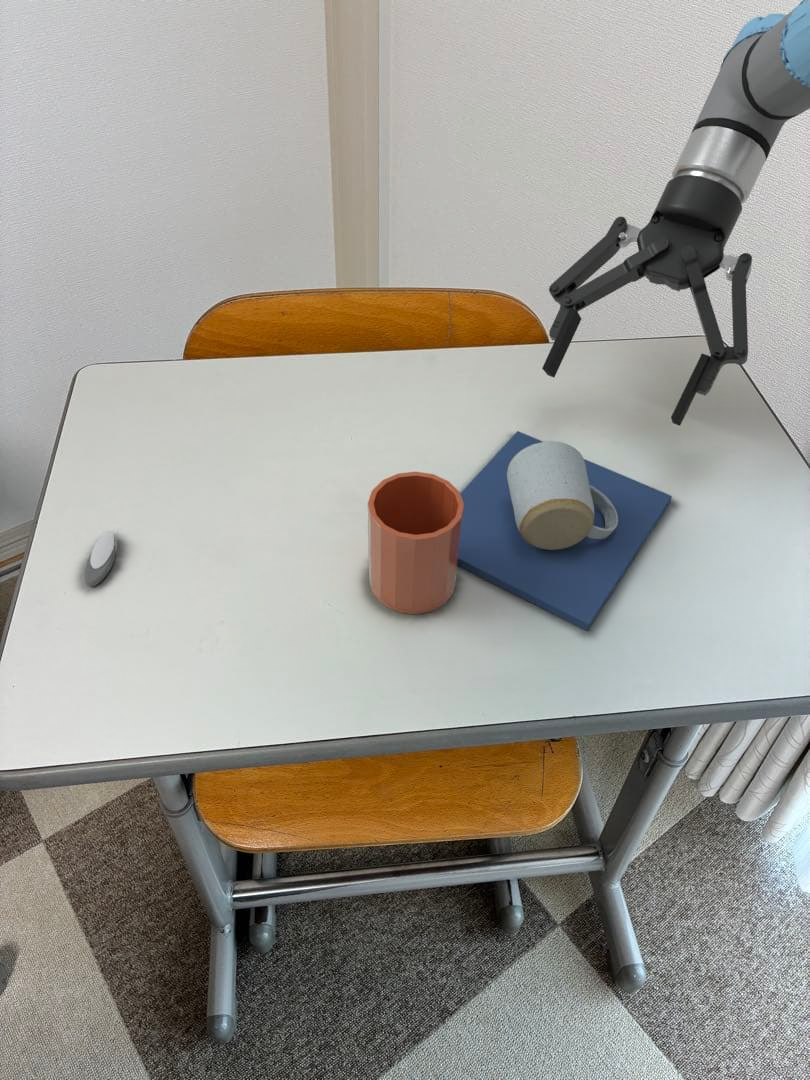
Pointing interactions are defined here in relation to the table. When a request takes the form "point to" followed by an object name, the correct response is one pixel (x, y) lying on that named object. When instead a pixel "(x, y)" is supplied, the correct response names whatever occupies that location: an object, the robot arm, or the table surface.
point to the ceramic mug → (556, 497)
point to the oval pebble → (101, 559)
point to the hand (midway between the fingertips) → (609, 397)
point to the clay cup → (414, 541)
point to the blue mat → (565, 574)
